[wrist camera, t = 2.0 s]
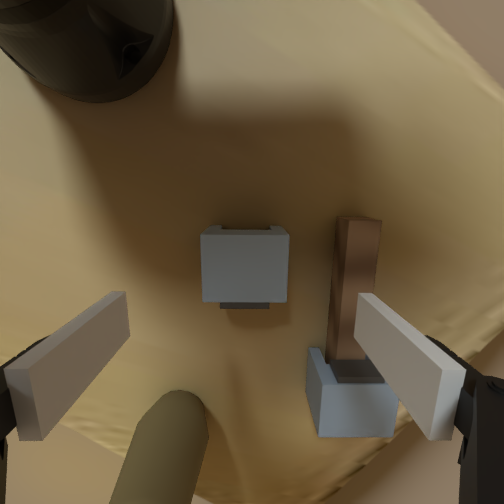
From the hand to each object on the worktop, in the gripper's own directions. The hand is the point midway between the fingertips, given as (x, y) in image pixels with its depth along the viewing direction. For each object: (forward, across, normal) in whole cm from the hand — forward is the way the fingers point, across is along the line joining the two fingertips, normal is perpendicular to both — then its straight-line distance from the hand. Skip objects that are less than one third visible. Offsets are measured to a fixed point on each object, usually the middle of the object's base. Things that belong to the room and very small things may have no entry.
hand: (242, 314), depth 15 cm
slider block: (+13, +11, -14) cm, 22 cm away
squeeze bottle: (+14, -8, -20) cm, 25 cm away
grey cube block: (+14, 0, 0) cm, 14 cm away
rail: (+14, +11, -7) cm, 19 cm away
